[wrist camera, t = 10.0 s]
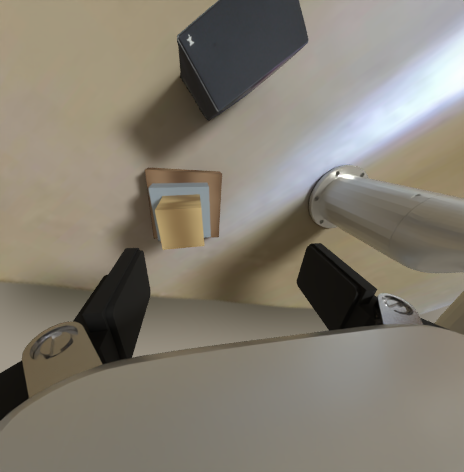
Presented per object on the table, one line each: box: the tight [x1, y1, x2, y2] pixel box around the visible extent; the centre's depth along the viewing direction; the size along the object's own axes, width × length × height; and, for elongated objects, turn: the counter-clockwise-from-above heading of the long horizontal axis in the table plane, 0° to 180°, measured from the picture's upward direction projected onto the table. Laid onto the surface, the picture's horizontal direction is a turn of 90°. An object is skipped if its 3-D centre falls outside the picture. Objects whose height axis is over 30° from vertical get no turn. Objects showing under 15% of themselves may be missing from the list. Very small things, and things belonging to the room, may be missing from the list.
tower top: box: [148, 183, 211, 241], centre depth 28 cm, size 8×8×3 cm
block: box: [155, 194, 204, 250], centre depth 24 cm, size 5×5×6 cm
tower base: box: [145, 168, 222, 239], centre depth 30 cm, size 11×11×3 cm
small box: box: [177, 0, 308, 121], centre depth 20 cm, size 11×6×10 cm, turn 123°
